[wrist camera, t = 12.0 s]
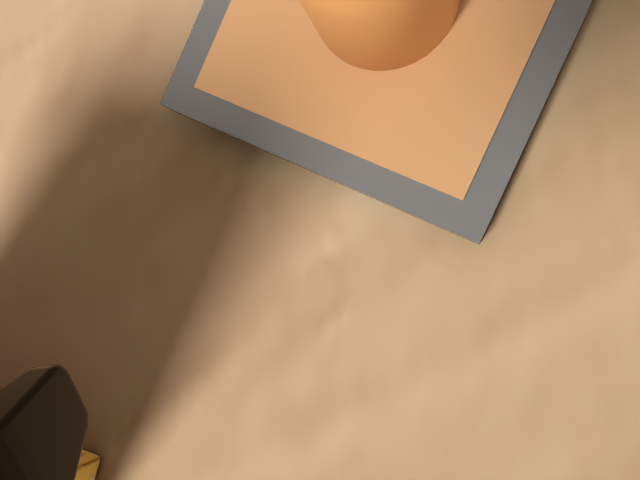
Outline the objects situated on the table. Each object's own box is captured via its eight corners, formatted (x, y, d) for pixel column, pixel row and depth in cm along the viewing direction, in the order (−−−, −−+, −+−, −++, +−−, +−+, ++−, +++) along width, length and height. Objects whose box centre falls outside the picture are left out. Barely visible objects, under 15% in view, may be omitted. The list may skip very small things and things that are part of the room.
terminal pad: (642, -108, 19) (651, -126, 18) (479, 244, 20) (479, 242, 19) (304, -201, 22) (297, -221, 21) (170, 109, 22) (158, 103, 22)
